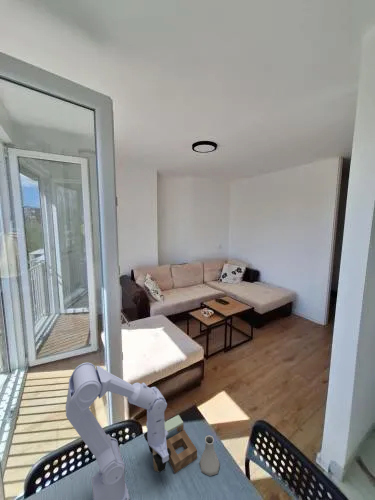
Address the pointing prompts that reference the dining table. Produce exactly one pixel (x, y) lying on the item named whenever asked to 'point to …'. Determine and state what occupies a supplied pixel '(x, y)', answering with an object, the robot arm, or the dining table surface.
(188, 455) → the socket
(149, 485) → the dining table surface
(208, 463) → the flask
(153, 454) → the peg
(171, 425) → the bench
